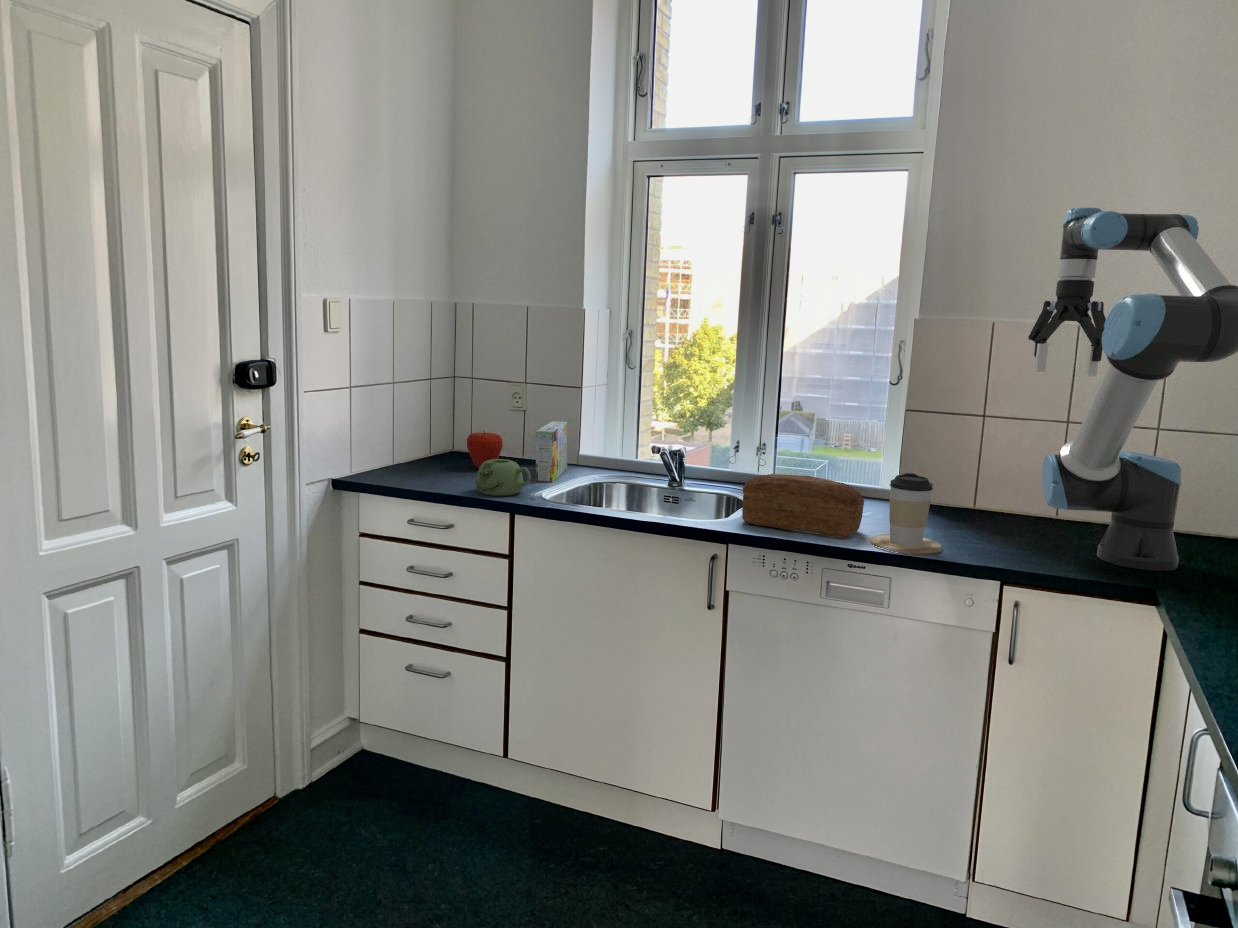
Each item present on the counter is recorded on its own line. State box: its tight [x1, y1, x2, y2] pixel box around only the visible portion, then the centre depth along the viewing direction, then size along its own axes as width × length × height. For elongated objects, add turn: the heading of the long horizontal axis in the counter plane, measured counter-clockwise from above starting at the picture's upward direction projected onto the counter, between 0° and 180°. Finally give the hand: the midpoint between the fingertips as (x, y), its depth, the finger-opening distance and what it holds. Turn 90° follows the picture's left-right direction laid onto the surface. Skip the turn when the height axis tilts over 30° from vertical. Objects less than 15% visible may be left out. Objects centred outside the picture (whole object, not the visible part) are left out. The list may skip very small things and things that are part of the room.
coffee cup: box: [888, 472, 934, 546], centre depth 195 cm, size 9×9×15 cm
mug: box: [475, 458, 532, 497], centre depth 236 cm, size 16×13×9 cm
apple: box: [466, 430, 504, 470], centre depth 269 cm, size 11×11×12 cm
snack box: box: [535, 421, 568, 483], centre depth 262 cm, size 21×6×15 cm, turn 172°
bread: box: [741, 473, 865, 538], centre depth 209 cm, size 14×28×12 cm, turn 61°
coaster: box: [870, 533, 942, 556], centre depth 196 cm, size 15×15×1 cm
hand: (1064, 374), depth 203 cm, fingers open, 13 cm apart
